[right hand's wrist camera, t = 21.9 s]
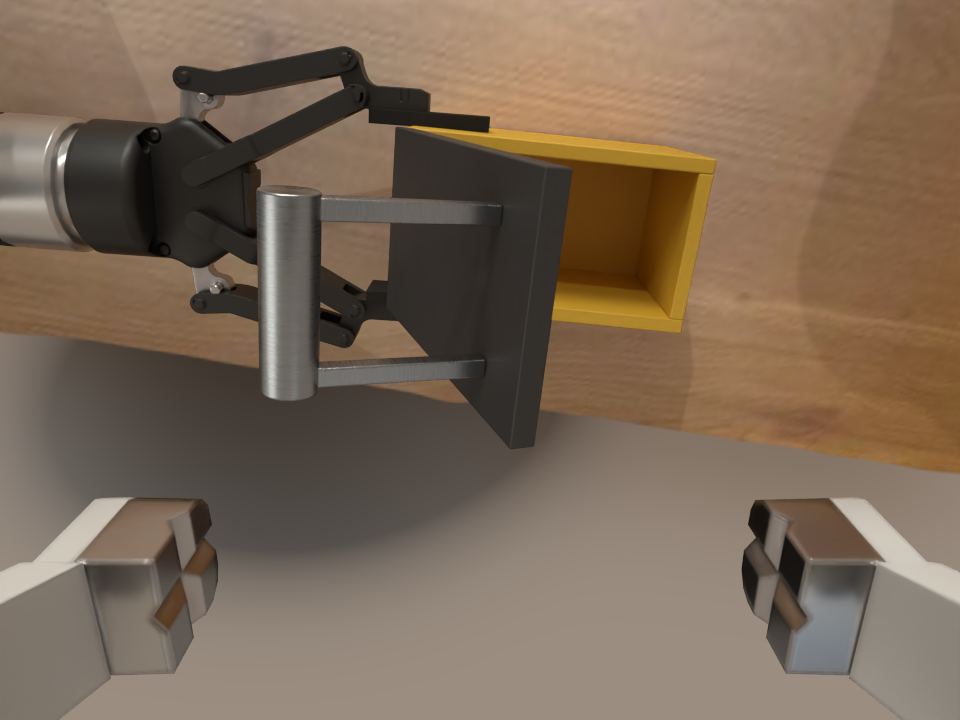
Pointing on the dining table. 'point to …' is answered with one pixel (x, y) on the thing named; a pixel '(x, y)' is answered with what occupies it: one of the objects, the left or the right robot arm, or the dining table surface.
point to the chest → (619, 225)
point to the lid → (427, 277)
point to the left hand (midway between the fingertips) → (482, 215)
